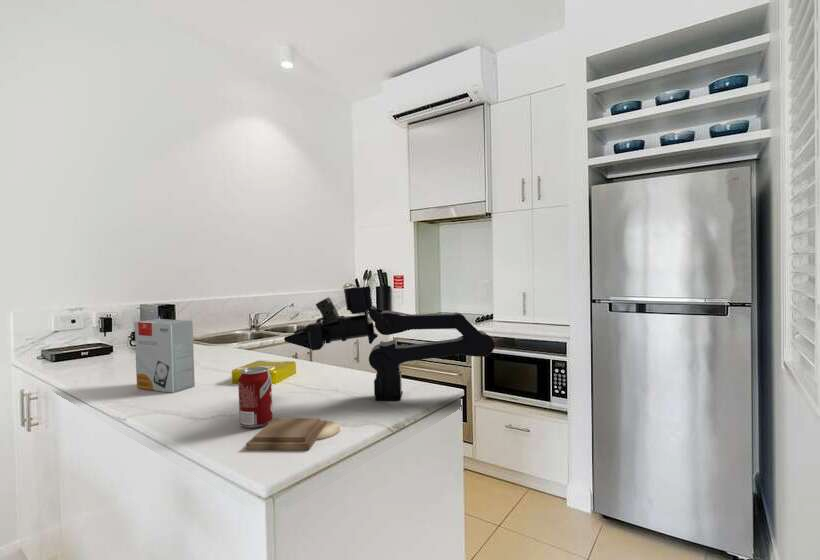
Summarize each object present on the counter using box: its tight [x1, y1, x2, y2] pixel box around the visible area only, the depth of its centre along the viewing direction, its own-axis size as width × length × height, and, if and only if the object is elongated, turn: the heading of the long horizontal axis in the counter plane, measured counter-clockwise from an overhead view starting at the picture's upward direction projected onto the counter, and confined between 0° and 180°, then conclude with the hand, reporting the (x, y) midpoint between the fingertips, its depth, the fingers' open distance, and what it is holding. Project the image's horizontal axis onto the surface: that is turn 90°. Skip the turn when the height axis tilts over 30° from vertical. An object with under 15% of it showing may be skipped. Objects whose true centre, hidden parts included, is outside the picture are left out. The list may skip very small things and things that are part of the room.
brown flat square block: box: [245, 417, 328, 451], centre depth 83 cm, size 12×12×2 cm
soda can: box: [237, 367, 274, 429], centre depth 91 cm, size 7×7×12 cm
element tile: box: [231, 360, 297, 385], centre depth 131 cm, size 15×15×5 cm
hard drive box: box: [133, 318, 196, 394], centre depth 123 cm, size 16×8×20 cm, turn 68°
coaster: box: [316, 420, 341, 441], centre depth 86 cm, size 9×9×1 cm
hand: (289, 336), depth 107 cm, fingers open, 9 cm apart
